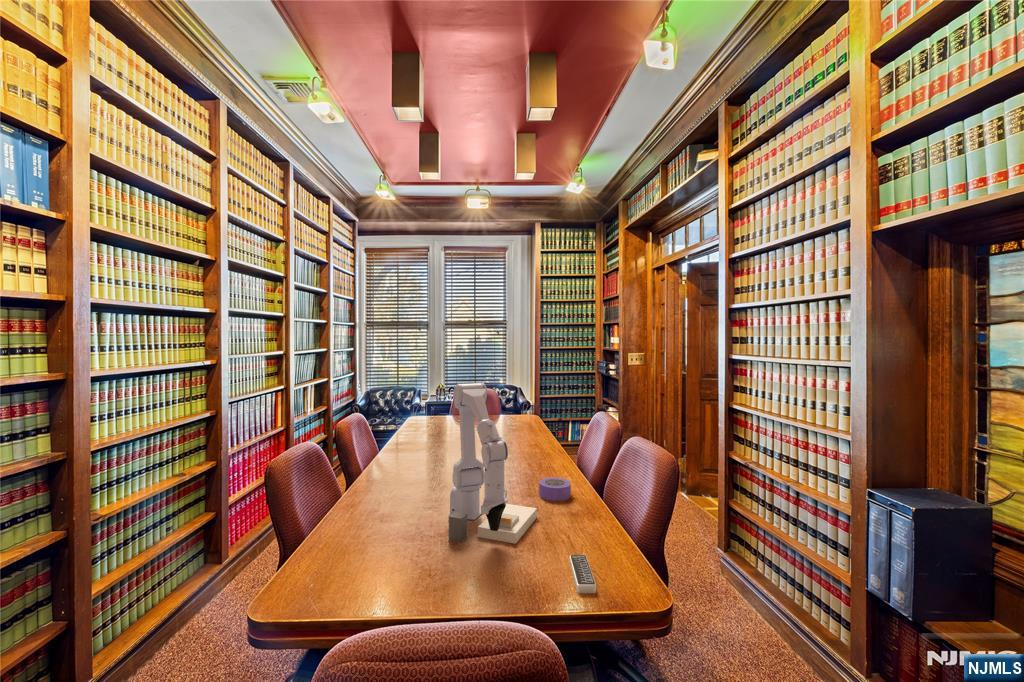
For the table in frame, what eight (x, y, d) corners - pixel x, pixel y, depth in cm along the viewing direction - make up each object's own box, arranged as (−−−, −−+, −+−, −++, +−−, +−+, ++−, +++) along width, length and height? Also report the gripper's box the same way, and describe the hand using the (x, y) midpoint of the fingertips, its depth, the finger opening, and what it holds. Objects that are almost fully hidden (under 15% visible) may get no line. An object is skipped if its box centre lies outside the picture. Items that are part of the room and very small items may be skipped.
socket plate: (477, 536, 133) (477, 526, 133) (503, 512, 152) (503, 503, 152) (515, 543, 129) (515, 533, 129) (536, 517, 148) (537, 508, 148)
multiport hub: (577, 594, 104) (577, 584, 104) (569, 563, 119) (569, 554, 119) (596, 594, 104) (596, 584, 104) (586, 563, 119) (585, 554, 119)
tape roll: (577, 497, 167) (577, 483, 167) (552, 503, 160) (552, 489, 160) (556, 488, 176) (556, 475, 176) (532, 494, 170) (532, 480, 170)
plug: (448, 540, 131) (448, 516, 131) (455, 534, 135) (455, 511, 135) (461, 542, 130) (461, 518, 130) (467, 536, 133) (467, 513, 133)
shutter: (489, 524, 135) (489, 515, 135) (498, 515, 141) (498, 507, 141) (510, 528, 132) (510, 519, 132) (518, 519, 139) (518, 510, 139)
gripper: (497, 493, 121) (497, 542, 121) (516, 477, 135) (516, 522, 135) (473, 489, 124) (473, 538, 124) (494, 474, 137) (494, 518, 138)
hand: (494, 529), depth 130 cm, fingers closed
